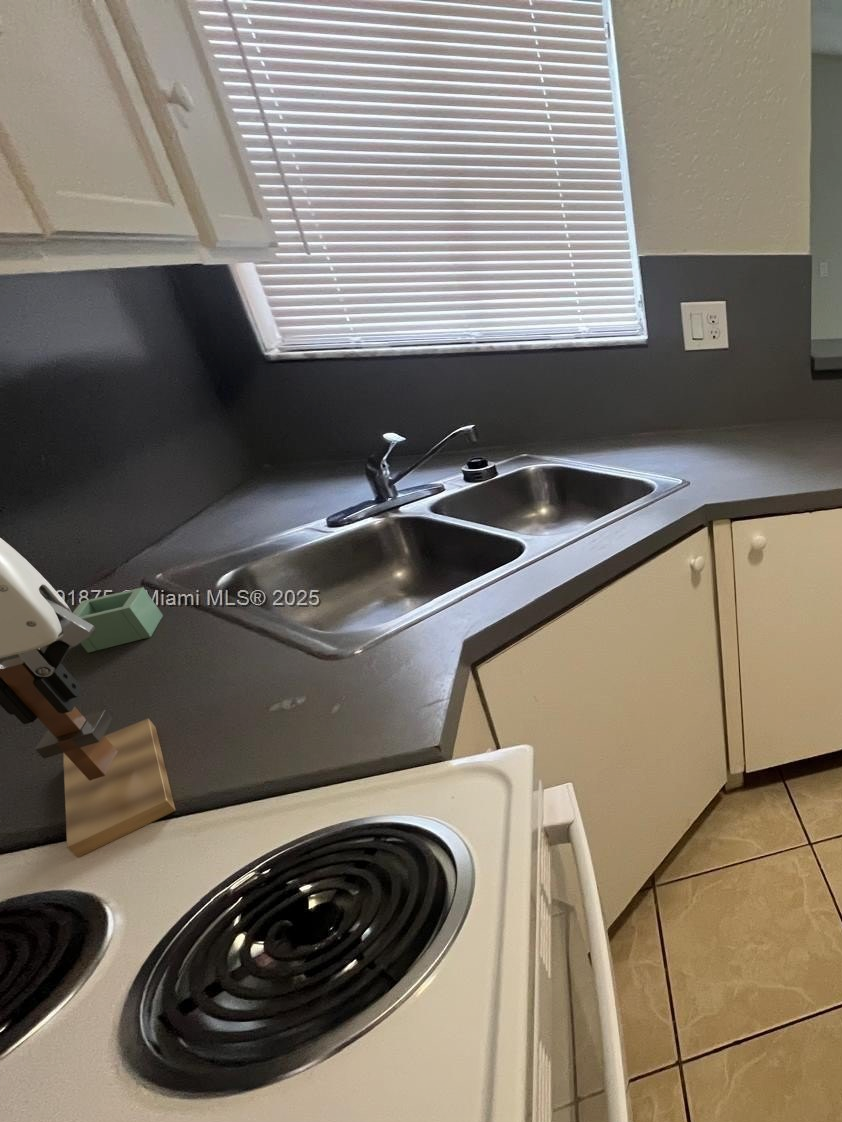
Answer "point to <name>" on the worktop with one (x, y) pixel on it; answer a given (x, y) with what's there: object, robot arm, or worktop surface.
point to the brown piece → (63, 724)
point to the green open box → (119, 618)
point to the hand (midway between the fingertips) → (53, 708)
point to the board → (117, 791)
